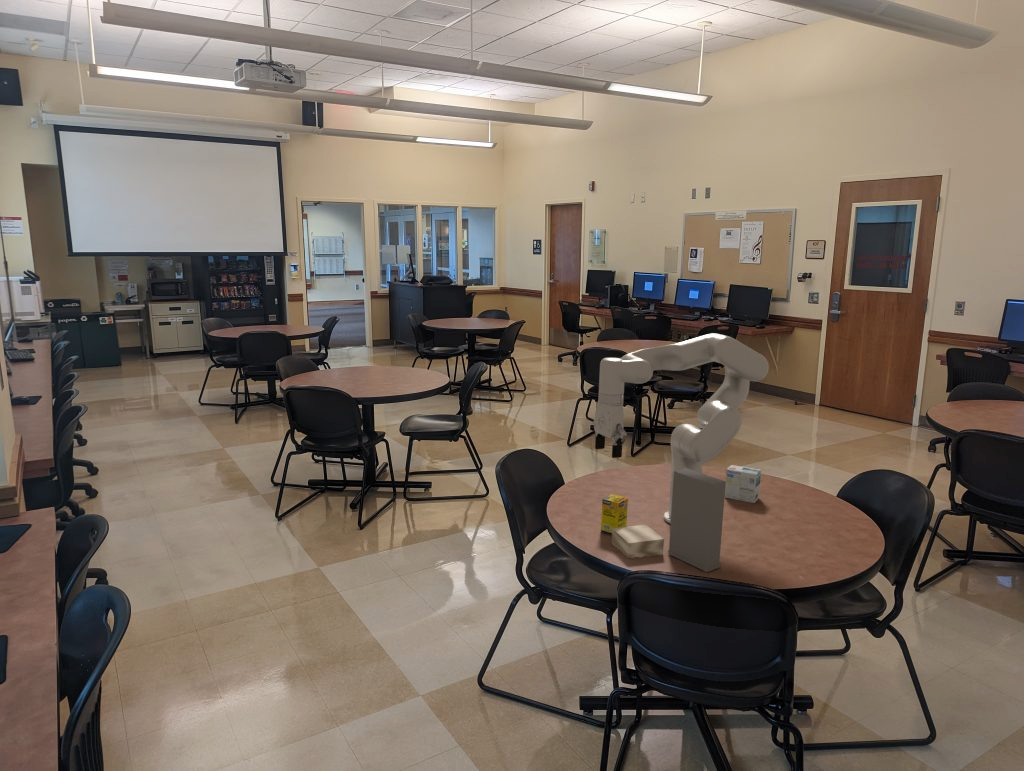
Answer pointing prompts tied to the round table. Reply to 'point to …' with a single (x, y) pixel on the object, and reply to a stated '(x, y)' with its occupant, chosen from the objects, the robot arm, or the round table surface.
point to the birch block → (637, 541)
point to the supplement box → (613, 513)
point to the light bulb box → (742, 483)
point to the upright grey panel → (697, 519)
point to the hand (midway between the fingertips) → (608, 452)
